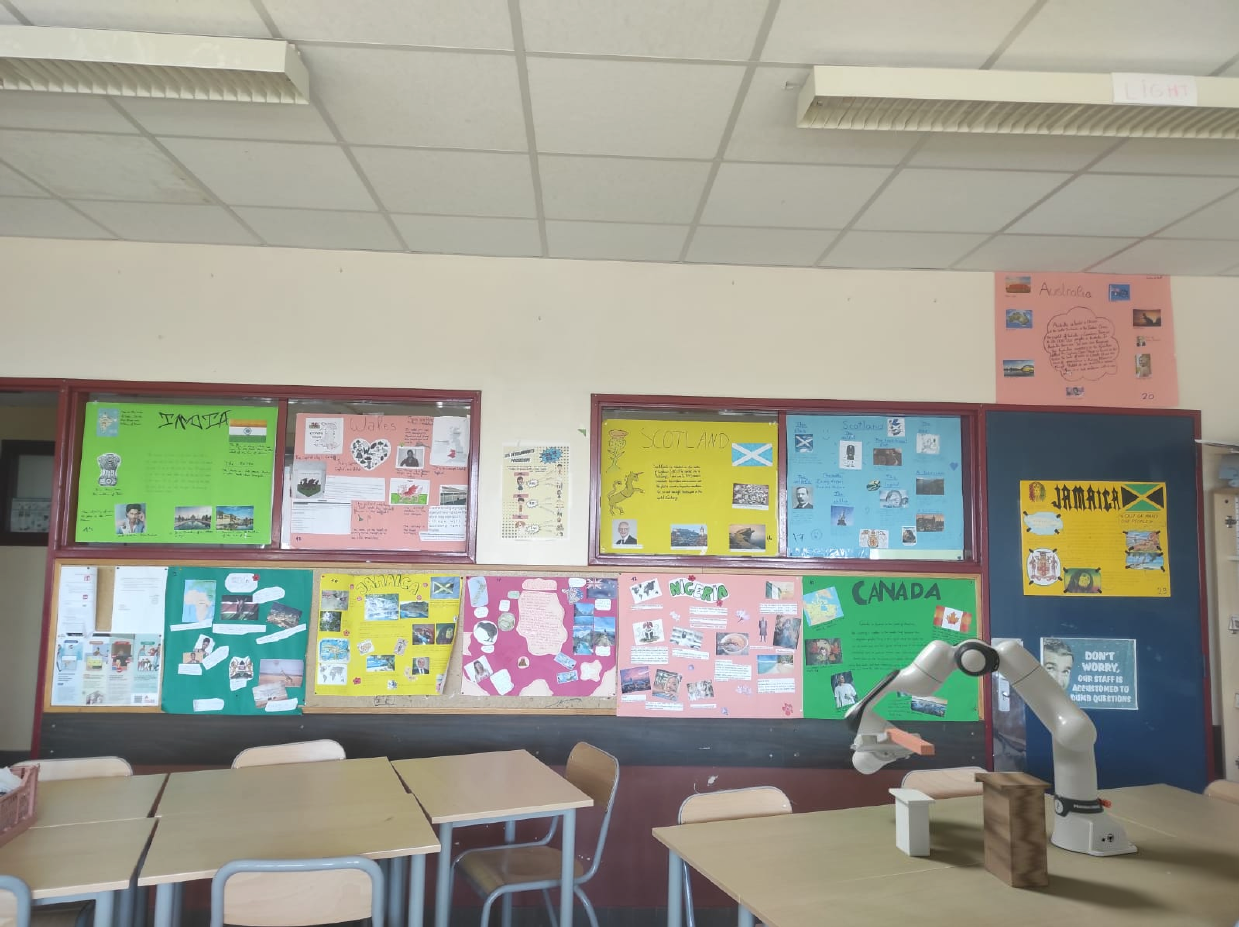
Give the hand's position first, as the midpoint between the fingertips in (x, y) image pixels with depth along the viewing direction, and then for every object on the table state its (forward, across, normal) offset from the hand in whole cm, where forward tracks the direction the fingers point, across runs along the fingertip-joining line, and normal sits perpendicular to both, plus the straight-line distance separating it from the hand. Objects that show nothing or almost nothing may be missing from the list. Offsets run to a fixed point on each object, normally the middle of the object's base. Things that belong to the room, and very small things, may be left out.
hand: (897, 734), depth 245 cm
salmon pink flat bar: (+5, 0, +5) cm, 7 cm away
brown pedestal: (+10, +18, +41) cm, 46 cm away
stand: (-8, 0, +31) cm, 32 cm away
